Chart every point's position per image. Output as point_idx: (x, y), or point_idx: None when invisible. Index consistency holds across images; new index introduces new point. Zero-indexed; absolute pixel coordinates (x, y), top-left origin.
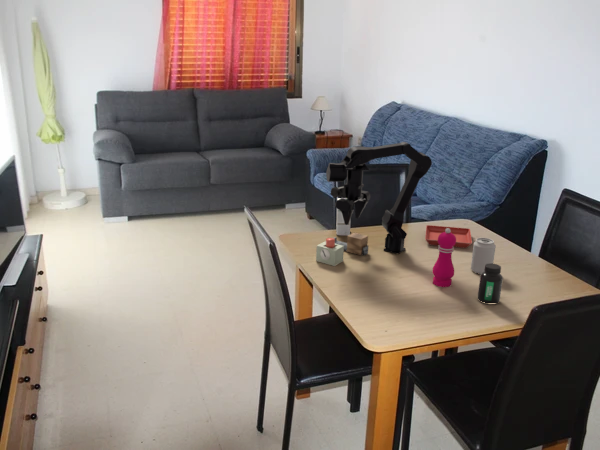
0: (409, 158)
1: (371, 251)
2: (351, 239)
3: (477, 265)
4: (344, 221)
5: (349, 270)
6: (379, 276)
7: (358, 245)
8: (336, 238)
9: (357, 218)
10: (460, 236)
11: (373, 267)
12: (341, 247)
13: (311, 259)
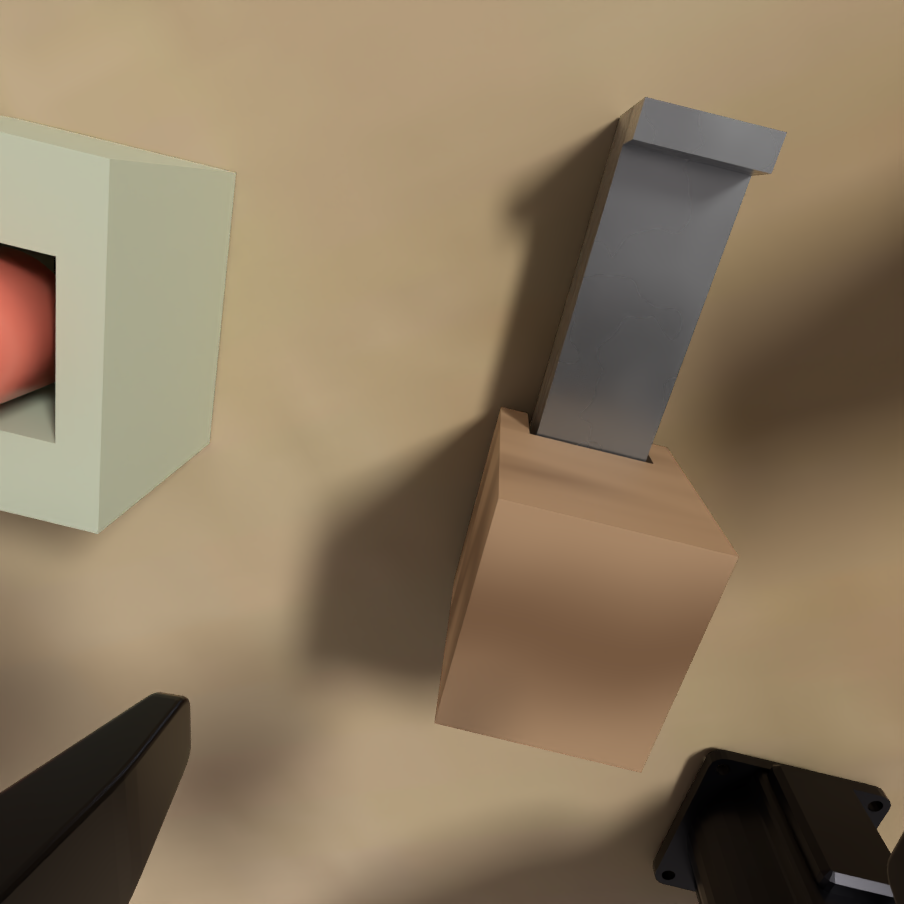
0: None
1: None
2: (480, 547)
3: None
4: (67, 759)
5: (26, 566)
6: None
7: (453, 617)
8: (757, 172)
9: (891, 862)
10: None
11: (228, 735)
12: (32, 513)
13: (19, 31)
